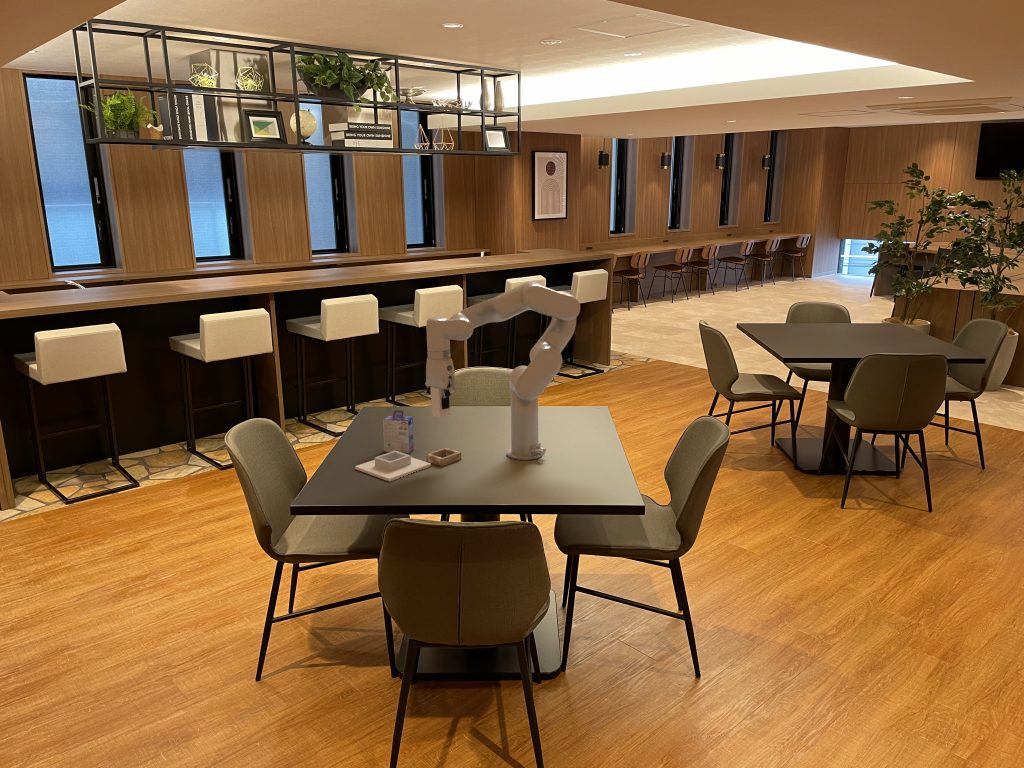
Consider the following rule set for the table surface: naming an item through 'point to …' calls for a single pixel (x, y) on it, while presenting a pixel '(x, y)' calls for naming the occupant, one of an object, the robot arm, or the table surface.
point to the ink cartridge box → (398, 433)
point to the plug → (438, 403)
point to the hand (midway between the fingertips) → (441, 406)
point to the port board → (392, 466)
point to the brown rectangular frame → (450, 457)
